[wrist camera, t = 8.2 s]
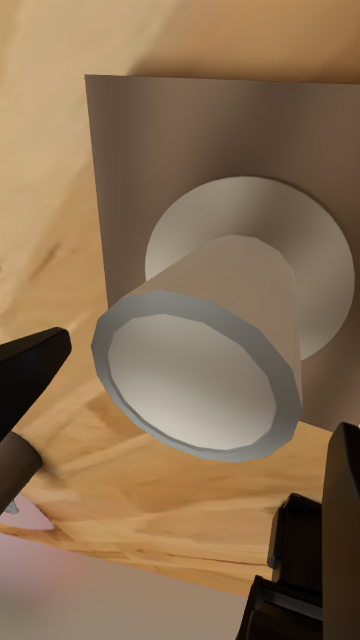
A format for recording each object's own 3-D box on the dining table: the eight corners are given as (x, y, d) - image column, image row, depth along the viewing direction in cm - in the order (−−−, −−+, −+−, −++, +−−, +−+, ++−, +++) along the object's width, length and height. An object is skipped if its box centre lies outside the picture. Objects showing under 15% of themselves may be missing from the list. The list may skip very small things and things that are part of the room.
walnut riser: (523, 98, 10) (592, 91, 8) (347, 400, 20) (350, 445, 17) (122, 81, 15) (76, 73, 12) (133, 333, 24) (109, 360, 21)
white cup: (344, 250, 12) (356, 360, 6) (277, 367, 16) (251, 492, 11) (185, 199, 13) (87, 255, 8) (163, 319, 17) (89, 409, 12)
